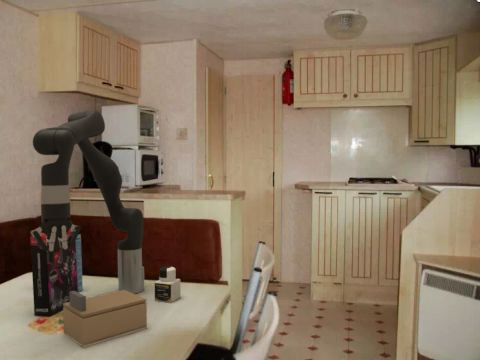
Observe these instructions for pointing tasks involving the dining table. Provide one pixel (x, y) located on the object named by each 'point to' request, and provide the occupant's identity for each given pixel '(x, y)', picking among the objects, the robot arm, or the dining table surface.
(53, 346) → the dining table surface
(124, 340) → the dining table surface
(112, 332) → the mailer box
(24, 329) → the dining table surface
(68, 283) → the graphics card box
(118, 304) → the lid
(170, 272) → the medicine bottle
